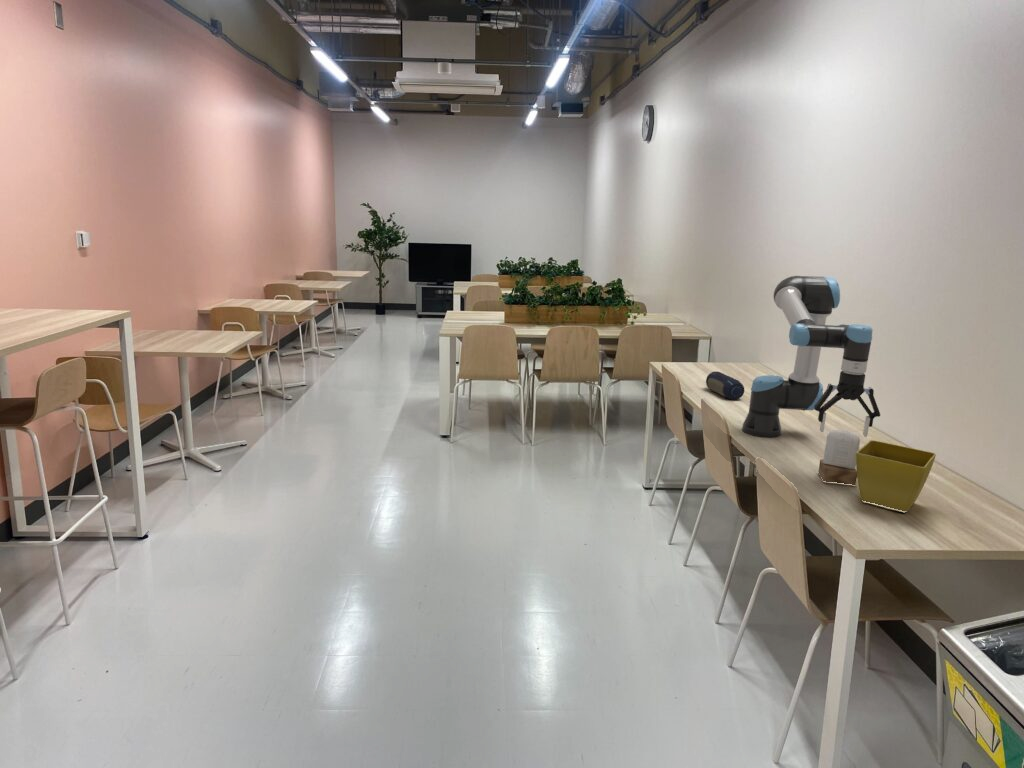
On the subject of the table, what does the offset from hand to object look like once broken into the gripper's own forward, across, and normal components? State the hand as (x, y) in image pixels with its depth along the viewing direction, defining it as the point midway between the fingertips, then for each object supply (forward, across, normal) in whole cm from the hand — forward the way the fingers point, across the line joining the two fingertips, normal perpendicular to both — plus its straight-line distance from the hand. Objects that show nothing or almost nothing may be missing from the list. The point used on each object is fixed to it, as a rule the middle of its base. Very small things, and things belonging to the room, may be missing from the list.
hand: (843, 433), depth 240 cm
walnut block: (+16, 0, -1) cm, 16 cm away
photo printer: (+12, 0, -1) cm, 12 cm away
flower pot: (+16, +12, -18) cm, 27 cm away
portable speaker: (+19, -32, +108) cm, 114 cm away
